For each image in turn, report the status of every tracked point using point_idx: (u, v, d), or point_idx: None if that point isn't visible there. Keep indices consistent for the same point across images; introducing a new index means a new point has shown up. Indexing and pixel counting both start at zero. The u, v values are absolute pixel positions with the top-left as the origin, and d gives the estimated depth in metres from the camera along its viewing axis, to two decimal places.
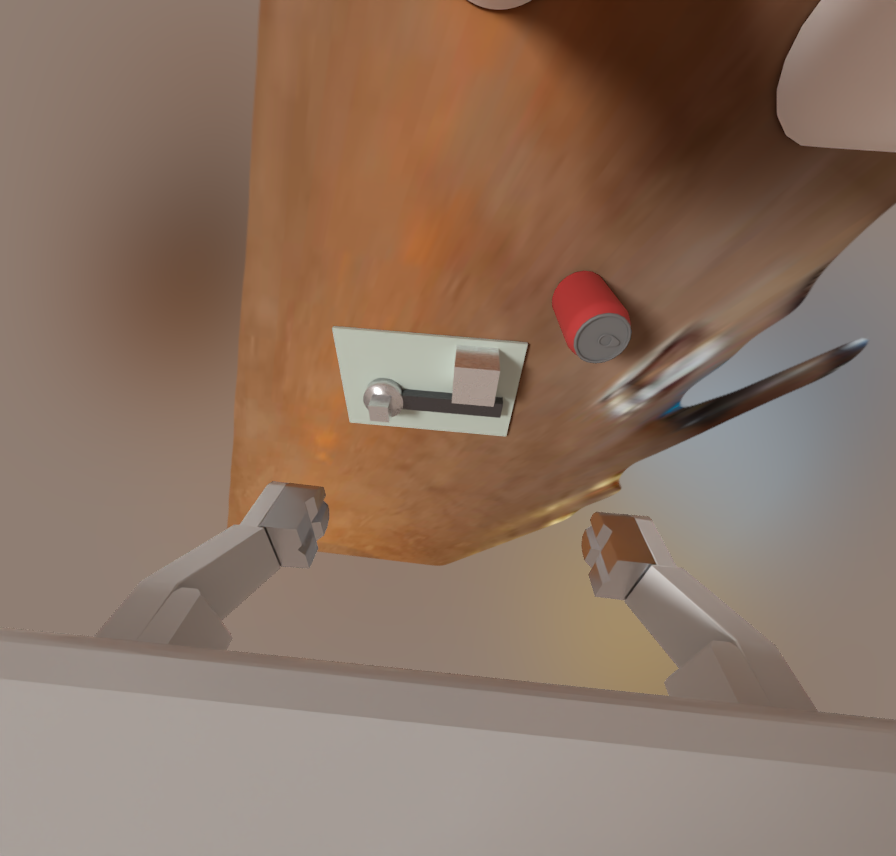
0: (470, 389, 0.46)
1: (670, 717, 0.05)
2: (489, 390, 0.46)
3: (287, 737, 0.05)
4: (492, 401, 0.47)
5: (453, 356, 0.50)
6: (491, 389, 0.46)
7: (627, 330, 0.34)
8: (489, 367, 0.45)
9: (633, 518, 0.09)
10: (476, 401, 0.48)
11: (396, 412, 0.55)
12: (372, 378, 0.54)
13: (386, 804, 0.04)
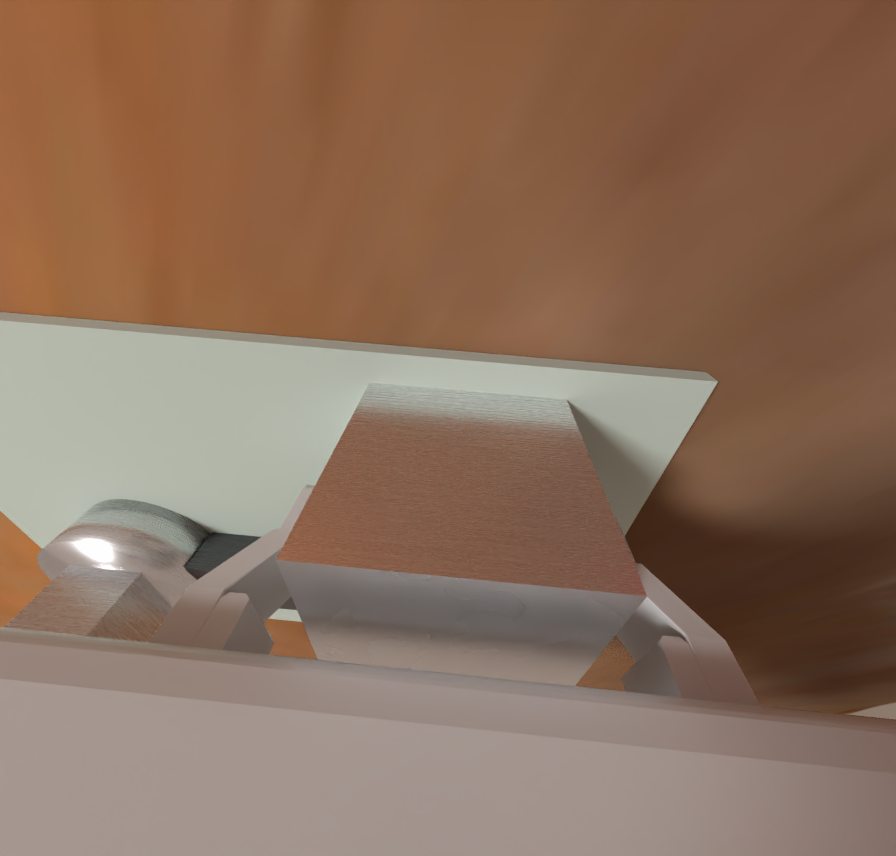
0: (424, 656, 0.07)
1: (670, 717, 0.05)
2: (541, 667, 0.07)
3: (287, 737, 0.05)
4: None
5: None
6: (555, 665, 0.07)
7: None
8: (552, 553, 0.06)
9: None
10: None
11: None
12: (89, 500, 0.15)
13: (386, 804, 0.04)
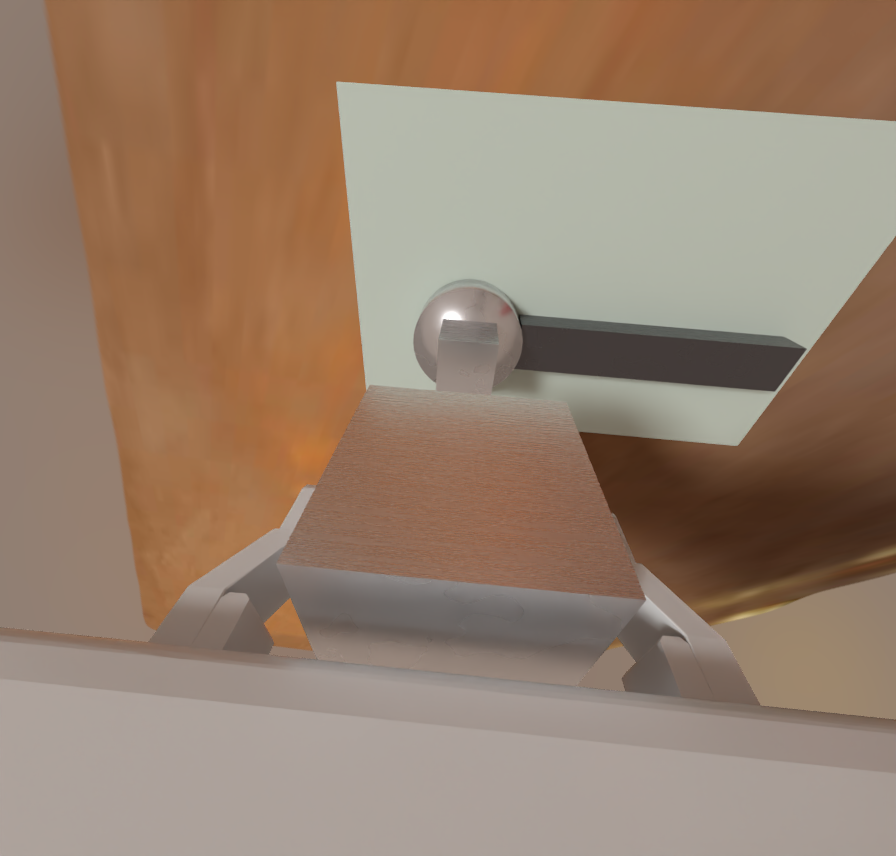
0: (424, 658, 0.07)
1: (670, 717, 0.05)
2: (541, 670, 0.07)
3: (287, 737, 0.05)
4: None
5: (699, 192, 0.17)
6: (554, 668, 0.07)
7: None
8: (552, 557, 0.06)
9: None
10: None
11: (497, 377, 0.21)
12: (439, 282, 0.20)
13: (386, 803, 0.04)
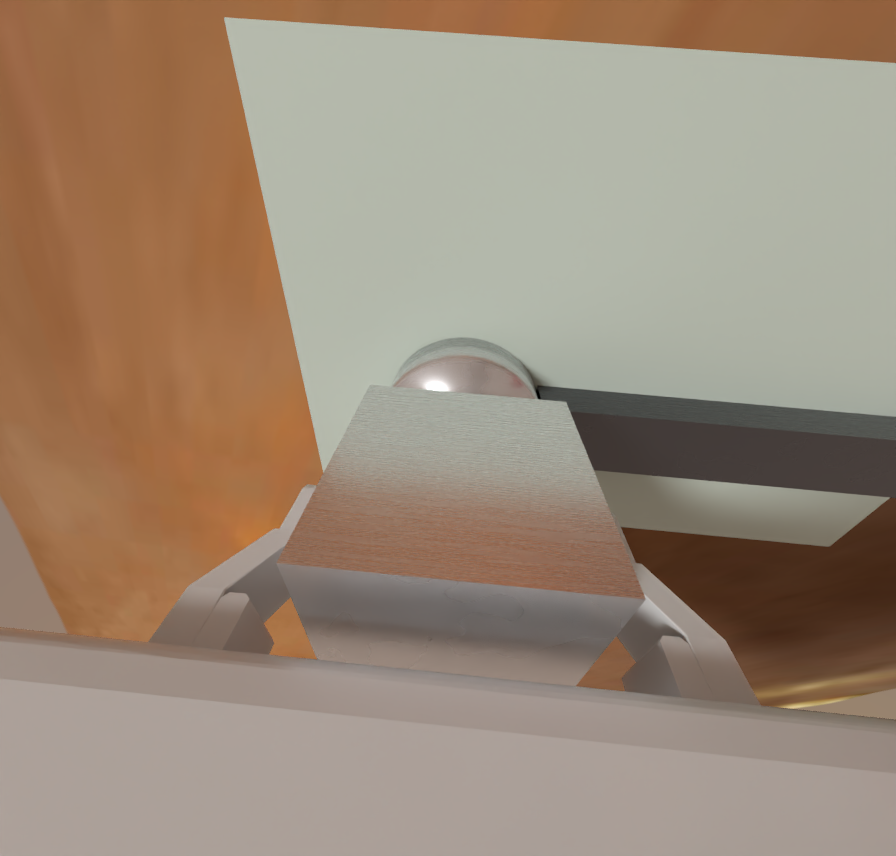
0: (424, 658, 0.07)
1: (670, 718, 0.05)
2: (540, 669, 0.07)
3: (287, 737, 0.05)
4: None
5: (845, 210, 0.10)
6: (554, 667, 0.07)
7: None
8: (552, 556, 0.06)
9: None
10: None
11: None
12: (419, 341, 0.13)
13: (386, 804, 0.04)
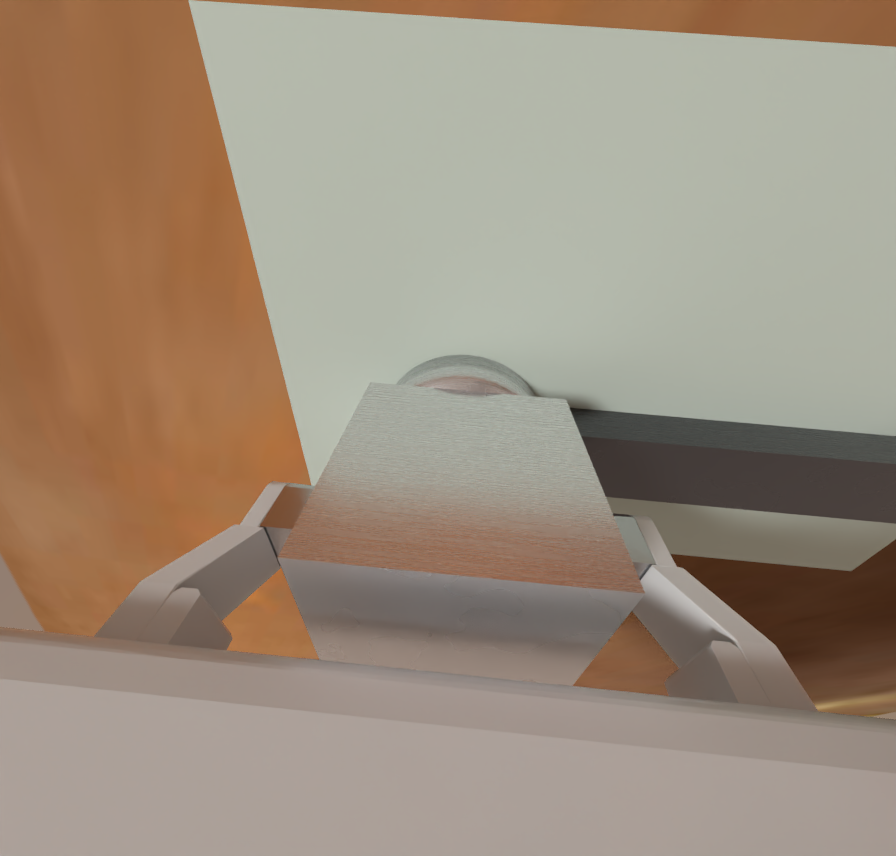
0: (424, 654, 0.07)
1: (670, 718, 0.05)
2: (540, 665, 0.07)
3: (287, 737, 0.05)
4: None
5: (888, 217, 0.09)
6: (554, 663, 0.07)
7: None
8: (551, 551, 0.06)
9: (632, 518, 0.09)
10: None
11: None
12: (414, 358, 0.12)
13: (386, 803, 0.04)
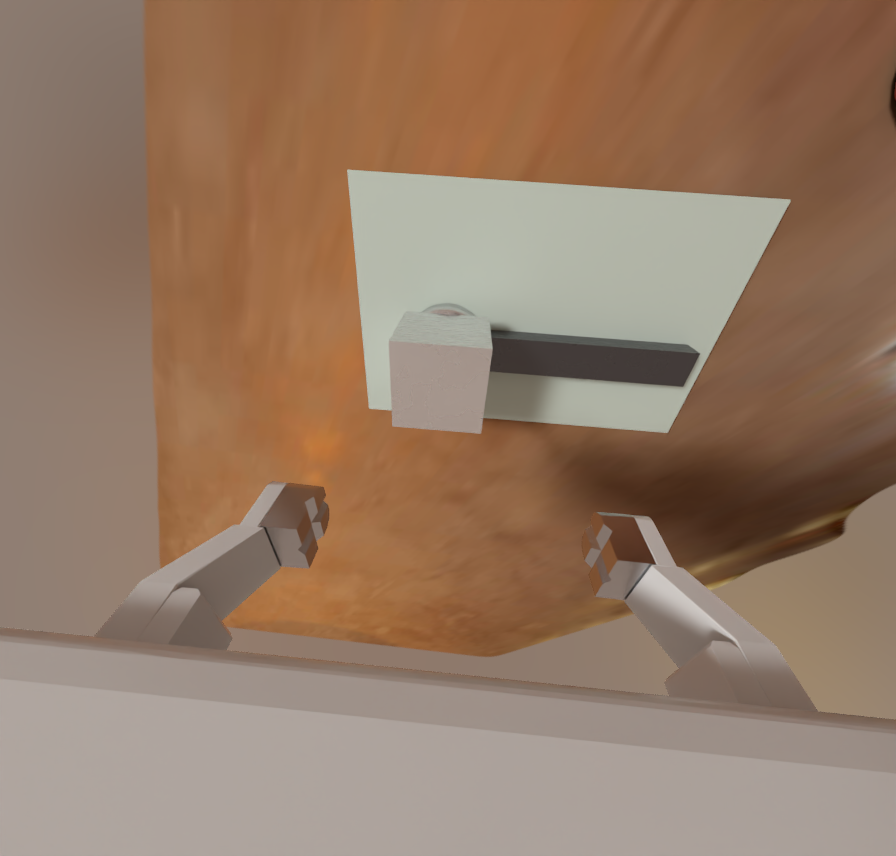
0: (430, 394, 0.21)
1: (670, 717, 0.05)
2: (470, 396, 0.21)
3: (287, 737, 0.05)
4: (478, 421, 0.22)
5: (608, 241, 0.23)
6: (474, 394, 0.21)
7: None
8: (468, 343, 0.20)
9: (632, 518, 0.09)
10: (445, 423, 0.22)
11: None
12: (423, 305, 0.26)
13: (386, 803, 0.04)
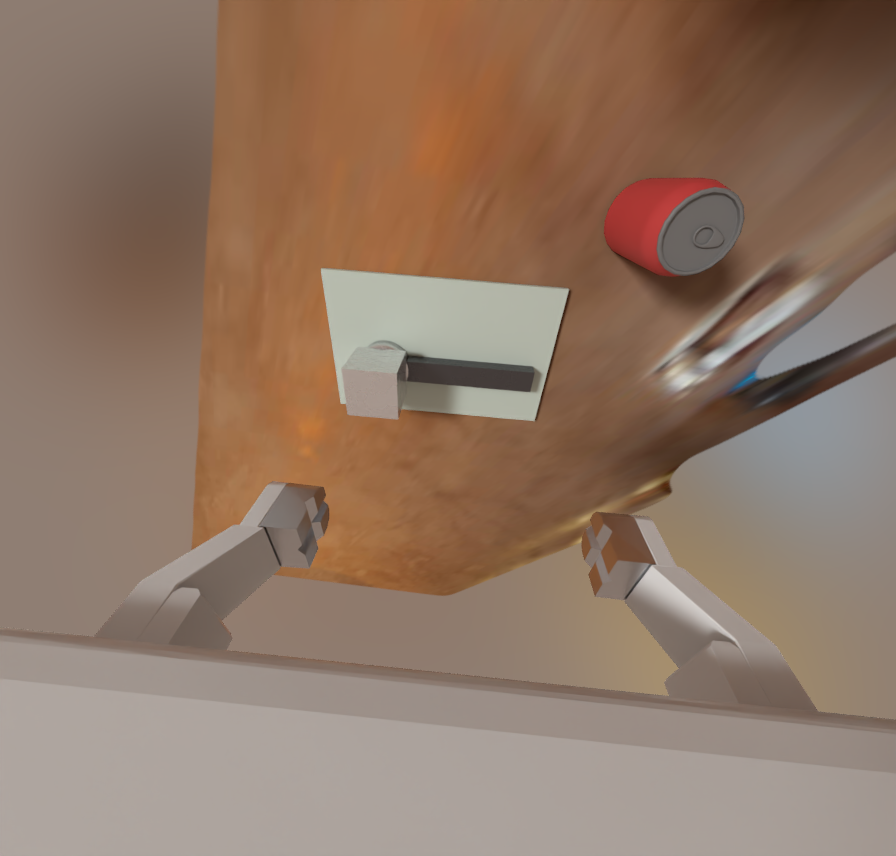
0: (366, 396, 0.38)
1: (670, 717, 0.05)
2: (389, 398, 0.38)
3: (287, 737, 0.05)
4: (395, 412, 0.39)
5: (473, 308, 0.40)
6: (391, 397, 0.38)
7: (737, 218, 0.24)
8: (385, 369, 0.37)
9: (632, 518, 0.09)
10: (377, 413, 0.39)
11: None
12: (370, 341, 0.43)
13: (386, 803, 0.04)
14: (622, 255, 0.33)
